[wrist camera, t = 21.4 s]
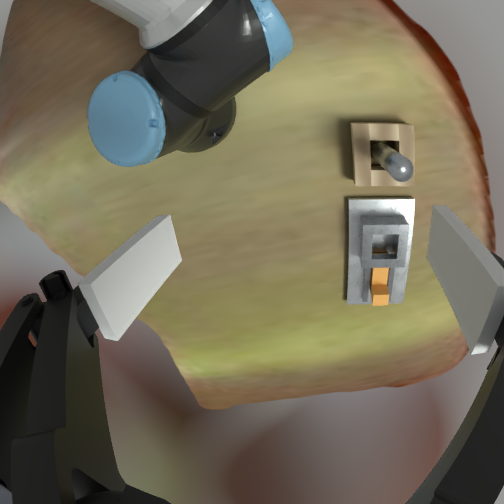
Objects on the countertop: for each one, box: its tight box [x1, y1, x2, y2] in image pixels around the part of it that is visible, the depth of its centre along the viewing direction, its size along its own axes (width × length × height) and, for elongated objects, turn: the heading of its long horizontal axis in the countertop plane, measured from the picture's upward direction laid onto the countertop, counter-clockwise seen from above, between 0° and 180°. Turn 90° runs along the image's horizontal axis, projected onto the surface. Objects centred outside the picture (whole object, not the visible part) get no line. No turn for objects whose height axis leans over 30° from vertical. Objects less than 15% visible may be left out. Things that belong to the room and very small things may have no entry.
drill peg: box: [372, 142, 414, 182], centre depth 37 cm, size 3×3×14 cm
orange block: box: [370, 253, 389, 306], centre depth 50 cm, size 3×8×5 cm, turn 8°
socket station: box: [347, 197, 415, 304], centre depth 49 cm, size 12×22×5 cm, turn 8°
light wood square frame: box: [350, 122, 415, 186], centre depth 42 cm, size 10×10×4 cm
